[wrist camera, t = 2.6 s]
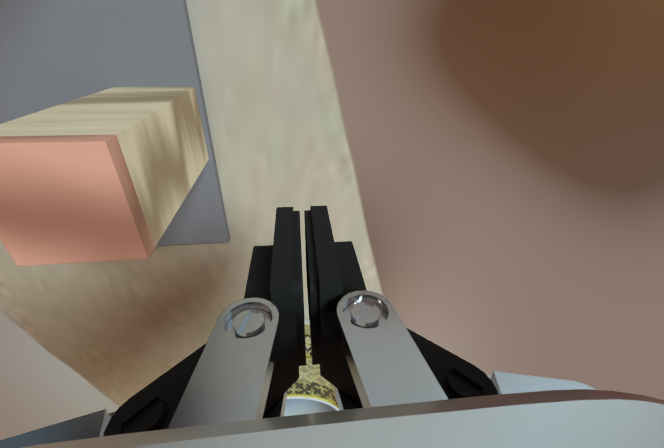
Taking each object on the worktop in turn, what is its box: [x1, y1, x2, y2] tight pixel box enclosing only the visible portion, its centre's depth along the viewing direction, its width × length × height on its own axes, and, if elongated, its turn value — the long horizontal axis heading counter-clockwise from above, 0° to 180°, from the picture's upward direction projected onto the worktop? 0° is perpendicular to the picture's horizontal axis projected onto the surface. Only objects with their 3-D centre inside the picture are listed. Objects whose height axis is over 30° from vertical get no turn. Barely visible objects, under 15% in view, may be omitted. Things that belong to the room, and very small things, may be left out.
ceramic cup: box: [284, 318, 339, 416], centre depth 31 cm, size 13×10×10 cm
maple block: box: [0, 87, 209, 266], centre depth 17 cm, size 5×5×12 cm
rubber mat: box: [0, 0, 230, 246], centre depth 22 cm, size 20×16×1 cm
